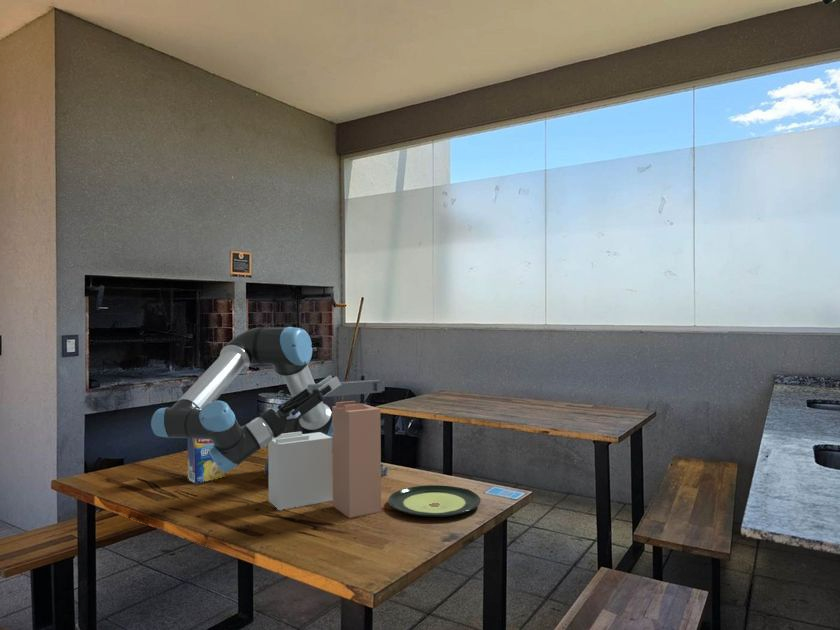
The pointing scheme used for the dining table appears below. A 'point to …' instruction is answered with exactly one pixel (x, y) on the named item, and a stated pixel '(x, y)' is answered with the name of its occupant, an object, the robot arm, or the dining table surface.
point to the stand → (356, 458)
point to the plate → (434, 500)
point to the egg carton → (384, 470)
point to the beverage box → (202, 461)
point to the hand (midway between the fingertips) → (335, 379)
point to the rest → (300, 469)
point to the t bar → (351, 388)
